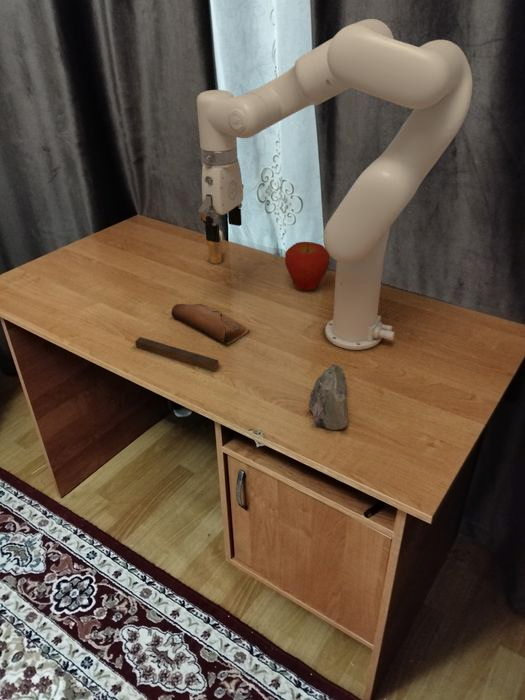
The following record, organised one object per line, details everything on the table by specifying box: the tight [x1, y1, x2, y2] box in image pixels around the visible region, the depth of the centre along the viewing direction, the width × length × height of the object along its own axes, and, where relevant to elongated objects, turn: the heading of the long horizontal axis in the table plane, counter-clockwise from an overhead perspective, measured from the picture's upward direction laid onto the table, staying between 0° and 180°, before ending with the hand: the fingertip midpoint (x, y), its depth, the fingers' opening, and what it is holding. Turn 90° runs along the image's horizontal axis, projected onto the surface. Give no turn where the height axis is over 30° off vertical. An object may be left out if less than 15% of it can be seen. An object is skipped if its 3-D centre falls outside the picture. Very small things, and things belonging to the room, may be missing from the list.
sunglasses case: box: [170, 303, 250, 346], centre depth 132 cm, size 18×7×7 cm, turn 48°
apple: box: [284, 241, 330, 291], centre depth 143 cm, size 11×11×12 cm
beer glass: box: [203, 229, 223, 264], centre depth 156 cm, size 4×5×10 cm
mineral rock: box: [308, 364, 349, 431], centre depth 106 cm, size 13×11×10 cm
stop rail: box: [134, 336, 220, 373], centre depth 122 cm, size 20×2×2 cm, turn 63°
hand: (224, 232), depth 129 cm, fingers open, 9 cm apart
